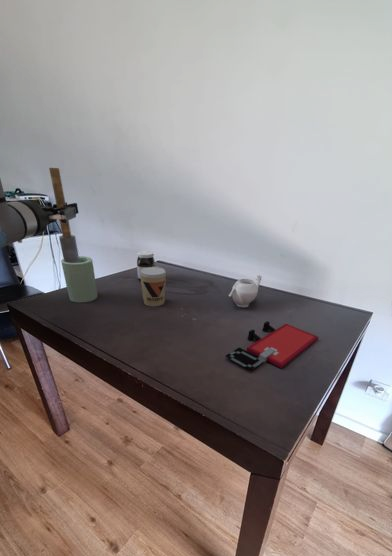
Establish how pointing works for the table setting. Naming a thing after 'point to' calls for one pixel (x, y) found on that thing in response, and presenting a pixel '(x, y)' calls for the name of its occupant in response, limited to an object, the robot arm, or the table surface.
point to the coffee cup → (153, 285)
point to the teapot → (245, 291)
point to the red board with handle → (273, 346)
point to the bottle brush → (66, 239)
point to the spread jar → (145, 261)
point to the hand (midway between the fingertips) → (71, 207)
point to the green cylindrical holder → (80, 279)
